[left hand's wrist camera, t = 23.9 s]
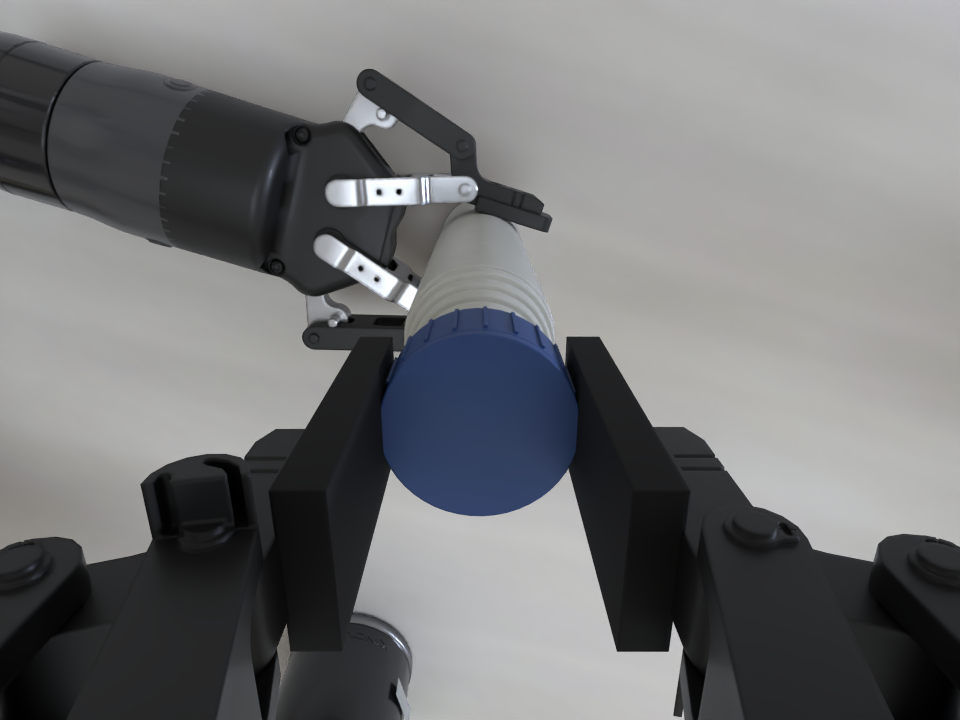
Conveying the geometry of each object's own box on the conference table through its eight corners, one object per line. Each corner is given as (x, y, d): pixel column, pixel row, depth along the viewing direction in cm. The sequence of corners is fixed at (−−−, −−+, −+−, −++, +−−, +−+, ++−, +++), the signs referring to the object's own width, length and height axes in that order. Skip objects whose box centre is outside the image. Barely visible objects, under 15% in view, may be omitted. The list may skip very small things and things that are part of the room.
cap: (606, 404, 15) (624, 443, 13) (468, 501, 15) (466, 552, 14) (493, 266, 13) (495, 288, 12) (352, 381, 14) (332, 418, 12)
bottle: (527, 211, 36) (615, 349, 13) (504, 283, 37) (543, 525, 14) (453, 188, 36) (404, 288, 12) (433, 262, 37) (354, 475, 14)
